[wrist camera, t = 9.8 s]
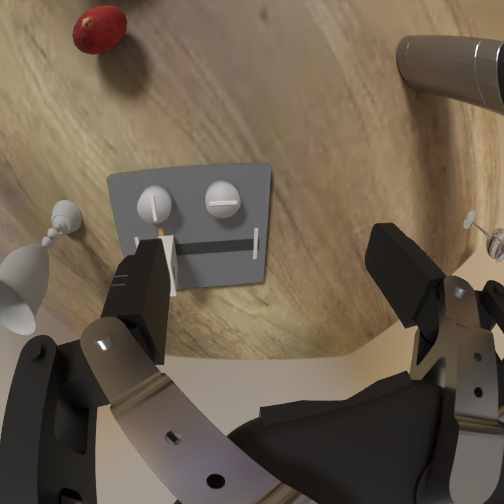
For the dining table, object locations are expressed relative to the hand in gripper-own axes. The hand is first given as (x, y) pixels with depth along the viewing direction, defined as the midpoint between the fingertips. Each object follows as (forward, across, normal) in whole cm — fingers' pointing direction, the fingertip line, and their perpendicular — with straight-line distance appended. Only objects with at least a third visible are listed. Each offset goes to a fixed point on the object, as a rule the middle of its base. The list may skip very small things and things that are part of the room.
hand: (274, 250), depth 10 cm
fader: (+22, +9, +15) cm, 28 cm away
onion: (+24, +14, -14) cm, 31 cm away
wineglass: (+27, -52, +15) cm, 61 cm away
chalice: (+24, +23, +8) cm, 34 cm away
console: (+24, +6, +13) cm, 28 cm away
